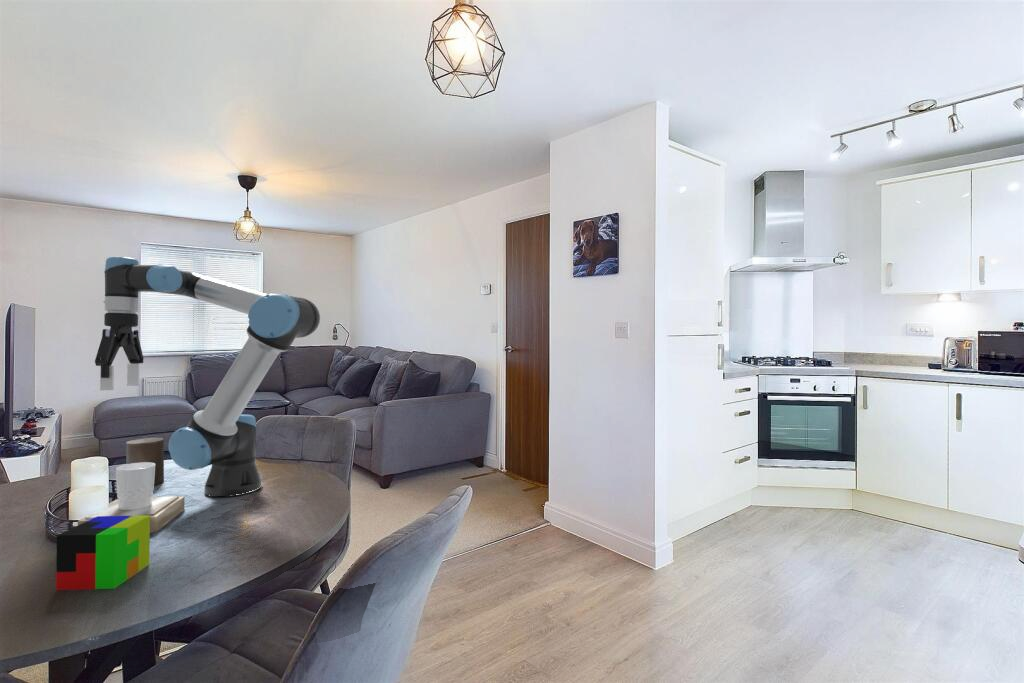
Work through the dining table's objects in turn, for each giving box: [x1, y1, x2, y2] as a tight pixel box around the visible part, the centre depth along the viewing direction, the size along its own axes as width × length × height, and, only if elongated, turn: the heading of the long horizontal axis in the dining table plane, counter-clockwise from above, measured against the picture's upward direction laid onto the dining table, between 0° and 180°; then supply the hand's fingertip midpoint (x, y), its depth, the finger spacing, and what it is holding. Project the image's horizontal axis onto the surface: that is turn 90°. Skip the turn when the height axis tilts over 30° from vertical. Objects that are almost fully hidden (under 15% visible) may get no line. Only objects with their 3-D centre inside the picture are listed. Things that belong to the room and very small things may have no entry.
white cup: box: [115, 462, 155, 510], centre depth 125 cm, size 8×8×10 cm
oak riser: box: [77, 495, 186, 533], centre depth 125 cm, size 16×16×4 cm
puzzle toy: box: [55, 515, 151, 591], centre depth 97 cm, size 10×10×10 cm
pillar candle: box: [125, 435, 165, 486], centre depth 158 cm, size 10×10×15 cm
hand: (120, 387), depth 142 cm, fingers open, 13 cm apart
